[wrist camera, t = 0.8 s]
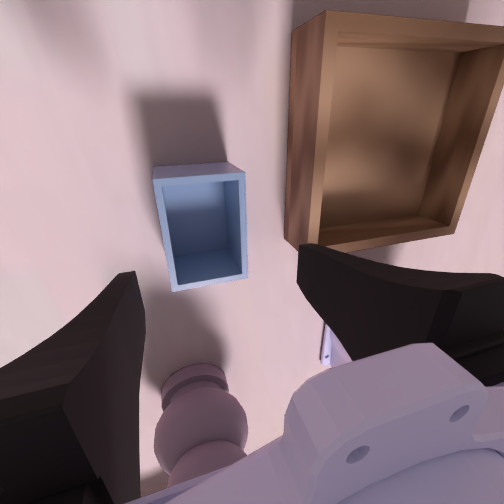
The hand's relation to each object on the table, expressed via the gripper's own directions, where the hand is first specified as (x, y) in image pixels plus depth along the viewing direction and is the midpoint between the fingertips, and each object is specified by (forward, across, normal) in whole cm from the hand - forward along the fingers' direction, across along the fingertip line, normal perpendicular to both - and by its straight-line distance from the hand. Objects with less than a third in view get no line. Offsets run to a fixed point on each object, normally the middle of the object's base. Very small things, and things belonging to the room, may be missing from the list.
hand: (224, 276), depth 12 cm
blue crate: (+10, 0, 0) cm, 10 cm away
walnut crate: (+9, -14, -4) cm, 17 cm away
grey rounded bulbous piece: (+10, +2, +18) cm, 21 cm away
